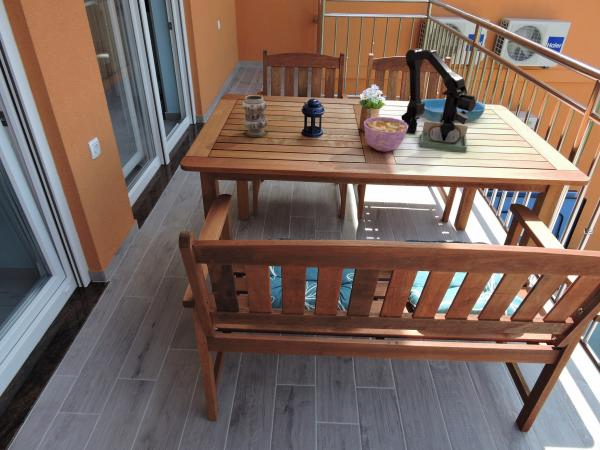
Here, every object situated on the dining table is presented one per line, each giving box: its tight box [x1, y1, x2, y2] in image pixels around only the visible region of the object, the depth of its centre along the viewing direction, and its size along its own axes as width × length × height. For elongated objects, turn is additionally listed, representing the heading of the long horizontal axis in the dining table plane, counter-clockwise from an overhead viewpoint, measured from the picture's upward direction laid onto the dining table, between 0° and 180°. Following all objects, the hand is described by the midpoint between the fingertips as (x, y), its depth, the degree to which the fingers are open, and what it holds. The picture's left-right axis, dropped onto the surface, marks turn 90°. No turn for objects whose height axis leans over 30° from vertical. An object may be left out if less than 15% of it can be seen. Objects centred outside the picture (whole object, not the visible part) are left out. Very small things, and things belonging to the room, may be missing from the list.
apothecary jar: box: [241, 94, 269, 138], centre depth 203 cm, size 12×12×18 cm
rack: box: [419, 120, 469, 153], centre depth 200 cm, size 21×16×8 cm
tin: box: [429, 124, 461, 143], centre depth 199 cm, size 15×3×8 cm, turn 73°
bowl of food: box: [363, 116, 408, 153], centre depth 192 cm, size 20×20×12 cm
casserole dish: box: [421, 98, 486, 122], centre depth 232 cm, size 37×22×7 cm, turn 97°
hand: (443, 138), depth 200 cm, fingers open, 7 cm apart
